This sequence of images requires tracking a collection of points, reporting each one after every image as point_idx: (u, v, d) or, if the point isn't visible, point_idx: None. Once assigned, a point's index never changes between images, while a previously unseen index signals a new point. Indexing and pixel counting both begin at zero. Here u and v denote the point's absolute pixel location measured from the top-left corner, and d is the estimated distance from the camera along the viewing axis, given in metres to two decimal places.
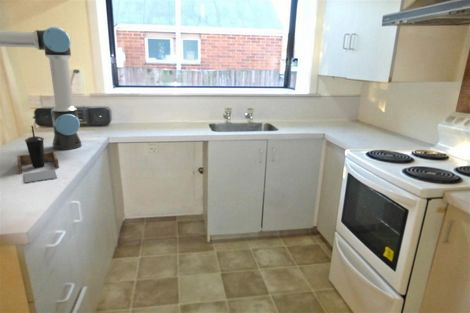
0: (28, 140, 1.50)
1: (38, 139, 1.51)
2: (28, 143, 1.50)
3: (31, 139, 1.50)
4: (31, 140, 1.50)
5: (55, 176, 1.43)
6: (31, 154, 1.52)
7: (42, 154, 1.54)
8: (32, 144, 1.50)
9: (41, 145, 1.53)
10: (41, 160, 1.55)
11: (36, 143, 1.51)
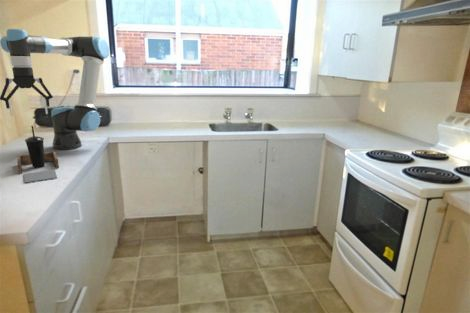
0: (28, 140, 1.50)
1: (38, 139, 1.51)
2: (28, 143, 1.50)
3: (31, 139, 1.50)
4: (31, 140, 1.50)
5: (55, 176, 1.43)
6: (31, 154, 1.52)
7: (42, 154, 1.54)
8: (32, 144, 1.50)
9: (41, 145, 1.53)
10: (41, 160, 1.55)
11: (36, 143, 1.51)
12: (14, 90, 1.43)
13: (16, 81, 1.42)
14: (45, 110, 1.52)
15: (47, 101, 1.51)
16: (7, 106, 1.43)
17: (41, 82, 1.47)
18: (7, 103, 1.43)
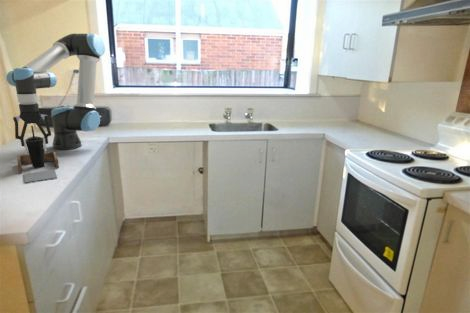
0: (28, 140, 1.50)
1: (38, 139, 1.51)
2: (28, 143, 1.50)
3: (31, 139, 1.50)
4: (31, 140, 1.49)
5: (55, 176, 1.43)
6: (31, 154, 1.52)
7: (42, 154, 1.54)
8: (32, 144, 1.50)
9: (41, 145, 1.53)
10: (41, 160, 1.55)
11: (36, 143, 1.51)
12: (24, 127, 1.48)
13: (23, 117, 1.47)
14: (44, 147, 1.56)
15: (46, 139, 1.55)
16: (22, 144, 1.50)
17: (45, 119, 1.52)
18: (22, 141, 1.50)
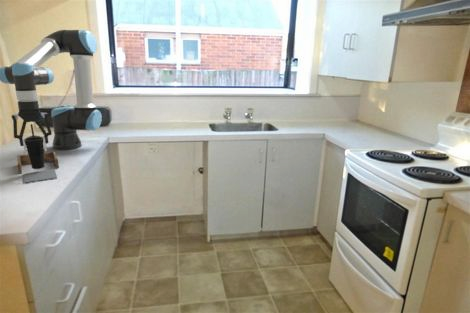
0: (27, 139, 1.42)
1: (38, 138, 1.43)
2: (27, 143, 1.42)
3: (30, 138, 1.42)
4: (30, 139, 1.42)
5: (55, 176, 1.43)
6: (30, 154, 1.44)
7: (42, 154, 1.47)
8: (31, 144, 1.42)
9: (41, 145, 1.45)
10: (41, 160, 1.47)
11: (35, 143, 1.43)
12: (23, 126, 1.41)
13: (22, 115, 1.39)
14: (44, 147, 1.48)
15: (46, 138, 1.47)
16: (21, 144, 1.42)
17: (46, 117, 1.44)
18: (21, 141, 1.42)
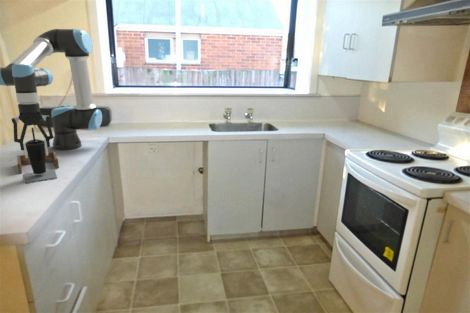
0: (28, 143, 1.36)
1: (39, 142, 1.38)
2: (28, 147, 1.36)
3: (31, 142, 1.37)
4: (31, 143, 1.36)
5: (55, 176, 1.43)
6: (31, 159, 1.38)
7: (43, 159, 1.41)
8: (32, 148, 1.37)
9: (42, 149, 1.40)
10: (43, 165, 1.41)
11: (37, 147, 1.37)
12: (24, 129, 1.35)
13: (22, 118, 1.34)
14: None
15: (47, 142, 1.41)
16: (22, 148, 1.37)
17: (47, 121, 1.39)
18: (22, 145, 1.36)
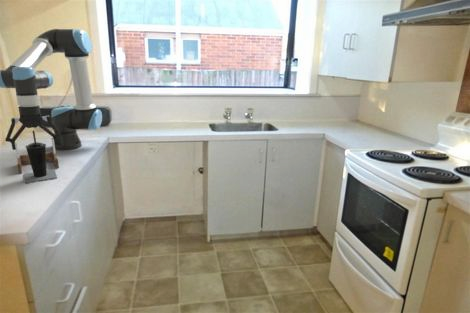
0: (29, 147, 1.37)
1: (40, 145, 1.38)
2: (29, 150, 1.37)
3: (32, 146, 1.37)
4: (32, 147, 1.37)
5: (55, 176, 1.43)
6: (32, 162, 1.39)
7: (44, 162, 1.42)
8: (33, 151, 1.37)
9: (43, 152, 1.40)
10: (43, 168, 1.42)
11: (38, 150, 1.38)
12: (20, 130, 1.34)
13: (22, 121, 1.34)
14: (53, 149, 1.43)
15: (55, 140, 1.42)
16: (13, 147, 1.35)
17: (49, 120, 1.39)
18: (13, 144, 1.35)
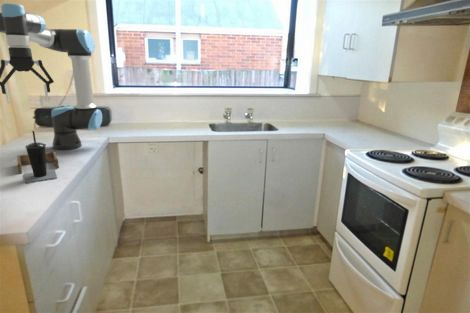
0: (29, 147, 1.37)
1: (40, 146, 1.38)
2: (29, 150, 1.37)
3: (32, 146, 1.37)
4: (32, 147, 1.37)
5: (55, 176, 1.43)
6: (32, 162, 1.39)
7: (44, 162, 1.42)
8: (33, 151, 1.37)
9: (43, 152, 1.40)
10: (43, 168, 1.42)
11: (38, 150, 1.38)
12: (11, 73, 1.28)
13: (13, 63, 1.27)
14: None
15: (47, 86, 1.36)
16: (3, 91, 1.28)
17: (41, 65, 1.32)
18: (3, 88, 1.28)
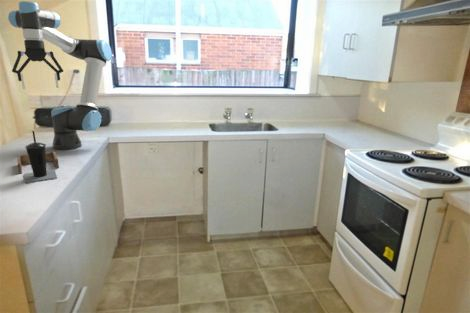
0: (29, 147, 1.37)
1: (40, 146, 1.38)
2: (29, 150, 1.37)
3: (32, 146, 1.37)
4: (32, 147, 1.37)
5: (55, 176, 1.43)
6: (32, 162, 1.39)
7: (44, 162, 1.42)
8: (33, 151, 1.37)
9: (43, 152, 1.40)
10: (43, 168, 1.42)
11: (38, 150, 1.38)
12: (26, 63, 1.45)
13: (28, 54, 1.45)
14: (56, 84, 1.54)
15: (58, 75, 1.53)
16: (19, 79, 1.46)
17: (52, 56, 1.50)
18: (19, 76, 1.45)
